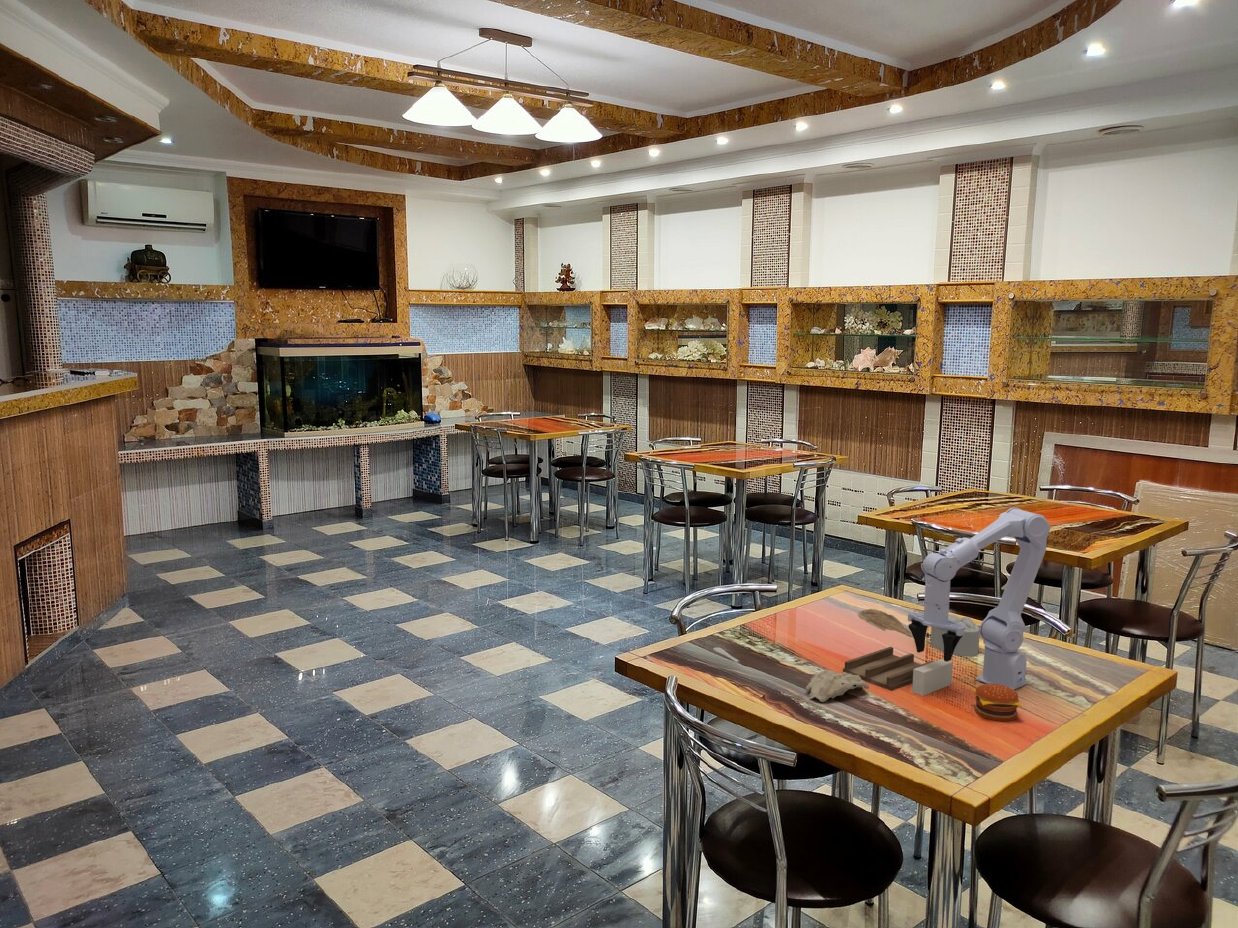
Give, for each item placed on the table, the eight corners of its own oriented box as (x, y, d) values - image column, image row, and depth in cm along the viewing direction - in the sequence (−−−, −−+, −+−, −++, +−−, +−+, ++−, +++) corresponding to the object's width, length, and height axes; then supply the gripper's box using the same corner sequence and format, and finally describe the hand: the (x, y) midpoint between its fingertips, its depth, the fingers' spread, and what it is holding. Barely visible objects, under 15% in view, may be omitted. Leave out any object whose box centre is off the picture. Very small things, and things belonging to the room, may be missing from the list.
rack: (936, 673, 231) (937, 662, 230) (891, 690, 220) (892, 678, 219) (888, 656, 243) (888, 646, 242) (842, 672, 231) (843, 661, 231)
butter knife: (720, 646, 250) (711, 647, 249) (768, 676, 228) (758, 677, 227) (720, 648, 250) (711, 649, 249) (768, 677, 229) (758, 679, 227)
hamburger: (968, 704, 212) (970, 677, 211) (1010, 706, 211) (1012, 679, 210) (980, 721, 202) (982, 693, 201) (1024, 723, 202) (1026, 695, 201)
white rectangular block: (951, 684, 224) (952, 661, 223) (922, 696, 217) (924, 672, 216) (940, 681, 226) (942, 658, 225) (912, 692, 219) (913, 668, 218)
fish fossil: (927, 637, 260) (927, 633, 259) (897, 643, 257) (897, 639, 256) (876, 609, 284) (876, 606, 284) (848, 615, 281) (847, 611, 281)
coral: (817, 704, 211) (818, 683, 211) (795, 685, 223) (796, 665, 222) (876, 699, 215) (877, 678, 214) (851, 681, 226) (852, 661, 226)
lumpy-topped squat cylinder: (952, 639, 257) (954, 610, 256) (988, 653, 245) (990, 623, 244) (925, 644, 253) (926, 614, 251) (960, 659, 241) (961, 628, 240)
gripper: (901, 598, 221) (898, 650, 223) (953, 612, 210) (950, 668, 212) (918, 593, 226) (915, 645, 228) (970, 607, 214) (967, 661, 216)
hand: (933, 655), depth 220 cm, fingers open, 7 cm apart
